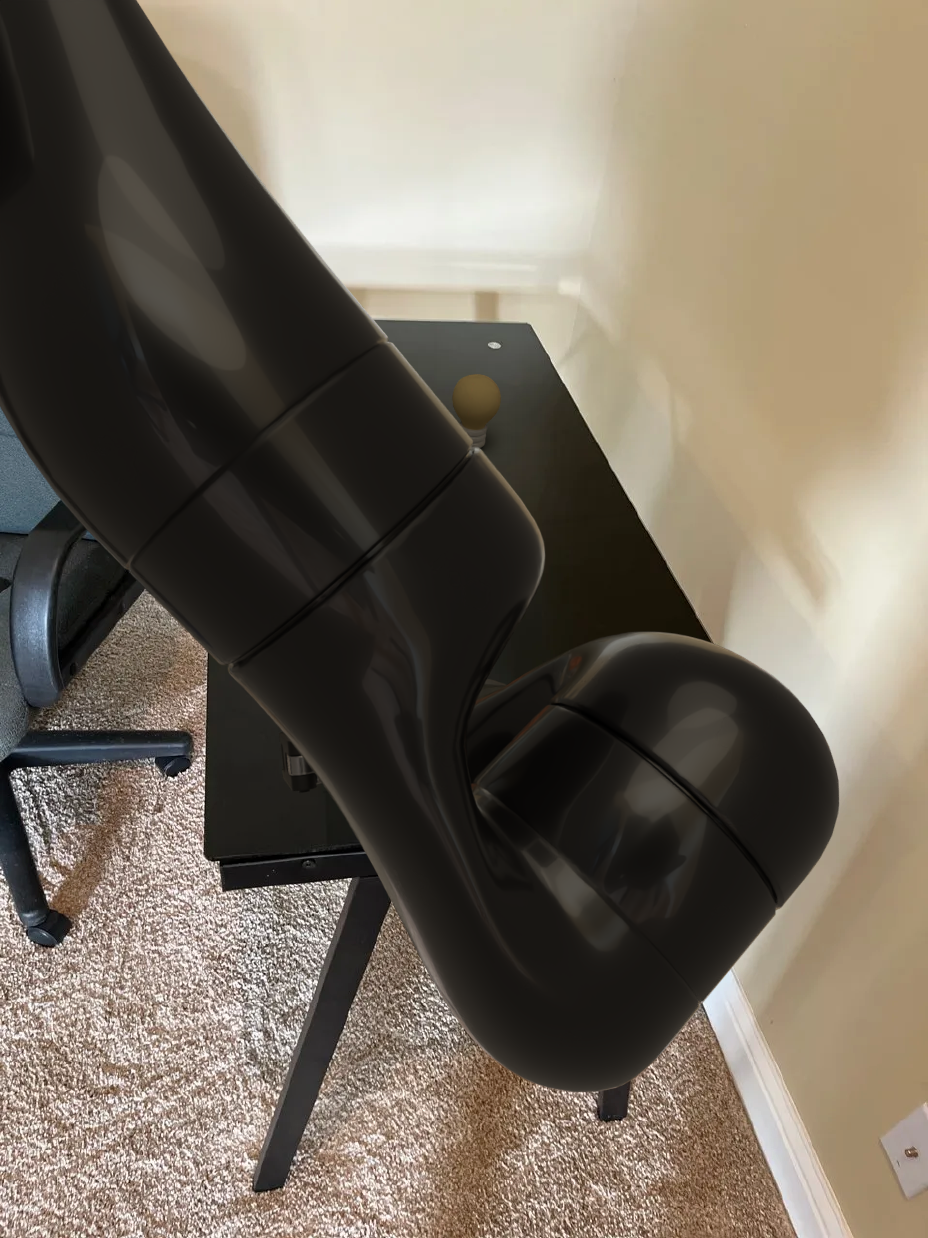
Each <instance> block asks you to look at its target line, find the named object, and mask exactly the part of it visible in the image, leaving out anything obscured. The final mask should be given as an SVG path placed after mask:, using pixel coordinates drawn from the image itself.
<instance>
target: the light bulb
mask: <svg viewBox="0 0 928 1238" xmlns="http://www.w3.org/2000/svg"><path fill="white" fill-rule="evenodd" d="M501 395H502V394H501V391H500V388H499V386H498V384H497V383H496V381H494V380H493V378H491V377H489V376H487V375H485V374H480V373H474V374H468V375H466V376H463V377H461V378H460V379H459V380H458V381H457V382H456V384H455V386H454V388H453V391H452V397H451V398H452V399H451V400H452V406H453V409H454V412H455V413H456V415H457V417H458V418H459V419H460V422H459V424H460V425H461V426H462V427H463V428H464V430H465V431H466V432H467V433H468V434H469V436H470V437H471V438H472V439H473V446H472V448H473V447H479V448H480V449H481V448H482V447H484V446H485V444H486V437H487V430H488V425H487V424H488V423H489V422H490V421H491V420H492V419H493V418H494V417H495V416H496V415H497V413H498V412H499V410H500V407H501V403H502V396H501Z"/></svg>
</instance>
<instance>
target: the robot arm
mask: <svg viewBox="0 0 928 1238" xmlns="http://www.w3.org/2000/svg"><path fill="white" fill-rule="evenodd" d="M0 409H1V411H2V413H3V415H4V417H5V418H6V420H7V422H8V423H9V425H10V427H11V429H12V430H13V432H14V434H15V435H16V437H17V439H18V441H19V442H20V444H21V446H22V448H23V449H24V451H25V452H26V454H27V456H28V457H29V459H30V460H31V461H32V464H34V466H35V468H37V470H38V471H39V473H40V474H41V475H42V477H43V478H44V479H45V481H46V482H47V484H48V486H49V487H50V488H51V489H52V491H53V492H54V494H55V495H56V496H57V497H58V499H59V500H60V501H61V502H62V503H63V504H64V505H65V507H66V508H67V509H68V510H69V511H70V512H71V514H72V515H73V516H74V517H75V518H76V519H77V521H78V522H79V523H80V524H81V525H82V526H83V527H84V529H86V531H87V532H88V533H89V534H90V535H91V536H92V537H93V538H94V539H95V540H96V541H97V542H98V543H99V544H100V545H101V546H102V548H104V549H105V550H106V551H107V552H108V553H109V554H110V555H111V556H112V558H114V559H115V560H116V561H117V562H118V563H119V565H121V566H122V568H124V569H125V570H128V571H129V574H130V575H131V576H132V578H133V579H134V580H136V581H137V582H138V584H139V585H141V586H142V587H143V588H144V589H145V591H147V592H148V594H149V595H151V597H153V598H154V599H155V601H156V602H158V604H159V605H160V606H161V607H162V608H164V610H165V611H166V612H167V613H168V614H169V615H170V616H171V617H172V618H173V619H174V620H175V621H176V622H177V623H178V624H179V625H180V626H181V627H182V628H183V629H184V630H185V631H186V632H187V633H188V634H189V635H190V636H191V637H192V638H193V639H194V640H195V641H196V642H197V643H198V644H199V645H200V646H201V647H202V648H203V649H204V650H205V651H206V652H207V653H208V654H209V655H210V656H211V657H212V658H213V659H214V660H215V661H216V662H217V663H218V664H219V665H220V666H227V673H228V674H229V675H230V676H231V677H232V678H233V679H234V680H235V681H236V682H237V683H238V684H239V686H240V687H242V688H243V689H244V690H245V692H246V693H247V694H249V696H251V697H252V699H253V701H255V702H256V704H257V705H258V706H259V707H260V708H261V709H262V710H263V711H264V712H265V714H266V715H267V716H268V717H269V718H270V719H271V720H272V721H273V723H274V724H275V725H276V726H277V727H278V728H279V730H280V731H281V732H278V740H279V743H280V753H281V763H282V769H281V772H282V779H283V780H284V782H285V783H286V784H287V786H288V787H289V788H290V790H291V791H292V792H299V793H300V794H301V793H302V794H303V793H309V792H310V790H313V789H316V788H317V785H320V784H322V785H323V787H324V788H325V790H326V791H327V793H328V794H329V796H330V797H331V799H332V800H333V802H334V803H335V805H336V806H337V807H338V809H339V811H340V812H341V814H342V815H343V817H344V818H345V820H346V822H347V823H348V826H349V827H350V829H351V830H352V832H353V834H354V836H355V837H356V839H357V841H358V842H359V844H360V846H361V848H362V849H363V851H364V853H365V855H366V856H367V858H368V860H369V861H370V863H371V865H372V867H373V868H374V870H375V872H376V874H377V875H378V878H379V880H380V882H381V884H382V886H383V888H384V890H385V891H386V894H387V896H388V898H389V900H390V901H391V904H392V906H393V907H394V910H395V912H396V914H397V915H398V918H399V919H400V921H401V924H402V925H403V928H404V930H405V931H406V933H407V935H408V938H409V939H410V941H411V943H412V945H413V946H414V949H415V950H416V953H417V954H418V956H419V958H420V960H421V962H422V964H423V966H424V968H425V970H426V972H427V973H428V975H429V977H430V979H431V980H432V982H433V985H434V986H435V987H436V989H437V991H438V993H439V994H440V996H441V998H442V999H443V1001H444V1002H445V1004H446V1006H447V1007H448V1009H449V1010H450V1011H451V1013H452V1015H453V1016H454V1018H455V1019H456V1020H457V1022H458V1023H459V1024H460V1025H461V1027H462V1028H463V1029H464V1031H465V1032H466V1033H467V1034H468V1035H469V1037H470V1038H471V1039H472V1040H473V1042H475V1044H477V1046H479V1047H480V1048H481V1049H482V1050H483V1051H484V1052H485V1054H486V1055H488V1056H489V1057H490V1058H491V1059H493V1060H494V1061H495V1062H496V1063H497V1064H499V1065H500V1066H502V1067H503V1068H504V1069H506V1070H508V1071H509V1072H511V1073H513V1074H514V1075H516V1076H517V1077H520V1078H521V1079H523V1080H525V1081H527V1082H530V1083H531V1084H532V1083H533V1084H535V1085H537V1086H540V1087H544V1088H547V1089H553V1090H558V1091H563V1092H569V1093H598V1092H604V1091H607V1090H612V1089H616V1088H619V1087H621V1086H623V1085H625V1084H627V1083H629V1082H631V1081H633V1080H634V1079H636V1078H637V1077H638V1076H640V1075H641V1074H642V1073H643V1072H644V1071H645V1070H647V1069H648V1068H649V1067H650V1066H651V1065H653V1064H654V1063H655V1062H656V1061H657V1060H658V1058H659V1057H660V1056H661V1055H662V1053H664V1051H665V1050H666V1049H667V1048H668V1047H669V1046H670V1045H671V1043H673V1041H674V1040H675V1039H676V1038H677V1037H678V1035H679V1034H680V1032H681V1031H682V1030H683V1029H684V1028H685V1026H686V1025H687V1024H688V1023H689V1021H691V1019H692V1018H693V1016H695V1014H696V1013H697V1012H698V1010H699V1009H700V1007H701V1005H703V1004H704V1003H705V1002H706V1000H707V999H708V998H709V997H710V995H711V994H712V993H713V992H714V990H715V989H716V988H717V986H718V985H719V984H720V983H721V982H722V980H724V978H725V977H726V975H728V973H729V972H730V971H731V970H732V968H733V967H734V966H735V965H736V964H737V962H738V961H739V960H740V958H741V957H743V955H744V954H745V953H746V951H747V950H748V949H749V948H750V946H752V944H753V943H754V941H755V940H756V939H757V938H758V937H759V935H761V933H762V932H763V931H764V929H765V928H766V927H767V926H768V925H769V923H770V922H771V921H772V920H773V919H774V918H775V916H776V911H778V910H780V909H782V908H783V906H784V905H785V904H786V903H787V901H788V900H789V899H790V898H791V897H792V896H793V894H794V893H795V892H796V891H797V889H798V888H799V887H800V886H801V885H802V883H804V881H805V880H806V879H807V877H808V876H809V875H810V874H811V872H812V871H813V869H814V868H815V867H816V866H817V864H818V863H819V862H820V860H821V858H822V856H823V854H824V852H825V850H826V848H827V846H828V845H829V843H830V841H831V839H832V837H833V834H834V831H835V826H836V823H837V820H838V816H839V811H840V781H839V775H838V770H837V766H836V763H835V760H834V757H833V754H832V750H831V748H830V745H829V743H828V741H827V738H826V737H825V734H824V733H823V731H822V730H821V728H820V727H819V725H818V723H817V722H816V720H815V718H814V717H813V715H812V714H811V713H810V711H809V710H808V709H807V707H805V705H804V704H803V703H802V702H801V701H800V700H799V698H798V697H797V696H796V695H795V694H794V693H793V692H792V691H791V689H790V688H788V687H787V686H786V685H785V684H784V683H783V682H781V680H779V679H778V678H777V677H776V676H774V675H773V674H771V673H770V672H768V671H767V670H766V669H764V668H763V667H760V666H759V665H758V664H756V663H754V662H752V661H751V660H749V659H748V658H747V657H744V656H742V655H741V654H739V653H737V652H735V651H732V650H730V649H728V648H726V647H724V646H721V645H718V644H717V643H713V642H710V641H707V640H704V639H701V638H696V637H692V636H689V635H685V634H680V633H679V634H678V633H671V632H663V631H627V632H621V633H616V634H612V635H606V636H602V637H599V638H595V639H592V640H590V641H588V642H585V643H582V644H580V645H578V646H576V647H572V648H571V649H569V650H567V651H565V652H563V653H561V654H559V655H557V656H555V657H553V658H551V659H549V660H547V661H546V662H543V663H542V664H539V665H538V666H535V667H534V668H532V669H530V670H528V671H526V672H523V674H521V675H520V676H518V677H516V678H514V679H513V680H512V681H510V682H508V683H507V684H506V683H504V682H502V681H501V682H500V681H497V680H495V679H491V678H489V676H490V674H491V672H492V671H493V669H494V667H495V665H496V664H497V662H498V660H499V658H500V657H501V655H502V653H503V652H504V650H505V648H506V647H507V645H508V643H509V642H510V640H511V639H512V637H513V634H514V633H515V631H516V630H517V628H518V626H519V625H520V624H521V622H522V621H523V619H524V617H525V616H526V614H527V612H528V610H529V608H530V606H531V604H532V602H533V600H534V598H535V597H536V594H537V592H538V589H539V588H540V584H541V581H542V579H543V574H544V571H545V567H546V546H545V541H544V538H543V535H542V532H541V530H540V527H539V525H538V523H537V521H536V519H535V518H534V516H533V515H532V513H531V512H530V510H529V509H528V507H527V506H526V504H525V502H524V501H523V499H522V498H521V497H520V496H519V494H518V493H517V492H516V490H515V489H514V488H513V486H512V485H511V484H510V483H509V481H508V480H507V479H506V478H505V476H503V473H501V471H500V470H499V469H498V468H497V466H496V465H494V463H493V462H492V460H490V459H489V457H488V456H487V454H486V453H485V452H484V451H483V449H481V448H479V447H473V448H472V446H473V439H472V438H471V437H470V436H469V434H468V433H467V432H466V431H465V430H464V428H463V427H462V426H461V425H460V422H459V421H458V420H457V418H456V417H455V416H454V415H453V413H452V412H450V410H449V409H448V408H447V406H446V405H445V403H443V401H442V400H441V399H440V398H439V397H438V396H437V394H436V393H435V392H434V391H433V390H432V388H431V387H430V386H429V385H428V383H427V382H426V381H425V380H424V378H422V376H421V375H420V374H419V372H417V370H416V369H415V368H414V366H412V364H411V363H410V362H409V361H408V360H407V358H406V357H405V356H404V355H403V353H402V352H401V351H400V350H399V349H398V347H397V345H395V344H394V342H391V341H390V339H389V337H388V334H386V333H385V332H384V331H383V329H382V328H381V326H379V325H378V323H377V322H376V321H375V319H374V318H372V316H371V315H370V314H369V312H368V311H367V310H366V308H364V307H363V305H362V304H361V303H360V302H359V301H358V299H357V298H356V297H355V295H353V293H352V292H351V291H350V289H348V287H347V286H346V285H345V284H344V283H343V282H342V280H341V279H340V278H339V276H337V275H336V273H335V272H334V271H333V270H332V268H331V267H330V266H329V264H328V263H327V262H326V261H325V259H323V257H322V255H320V253H319V252H318V251H317V250H316V249H315V247H314V245H312V243H311V241H309V239H307V237H306V236H305V235H304V233H303V232H302V231H301V229H300V228H299V227H298V225H297V224H296V223H295V222H294V220H293V219H292V218H291V216H289V214H288V213H287V212H286V210H285V208H283V207H282V205H281V203H279V202H278V200H277V198H275V196H274V195H273V194H272V192H271V191H270V190H269V189H268V187H267V186H266V184H265V183H264V182H263V181H262V179H261V178H260V176H259V175H258V174H257V172H256V171H255V170H254V168H253V166H251V165H250V163H249V162H248V160H247V159H246V157H245V156H244V155H243V154H242V152H241V151H240V150H239V148H238V146H236V144H235V143H234V141H233V140H232V138H230V136H229V135H228V133H227V132H226V131H225V129H224V128H223V126H222V125H221V123H220V122H219V121H218V120H217V118H216V117H215V115H214V114H213V112H212V111H211V109H210V108H209V106H208V105H207V104H206V103H205V101H204V100H203V98H202V97H201V95H200V94H199V93H198V91H197V90H196V88H195V87H194V86H193V84H192V82H191V81H190V80H189V79H188V76H187V75H186V74H185V73H184V71H183V70H182V68H181V67H180V65H179V63H178V62H177V61H176V60H175V58H174V56H173V55H172V53H171V51H170V50H169V48H168V47H167V45H166V44H165V42H164V40H163V39H162V38H161V35H160V34H159V33H158V32H157V30H156V28H155V27H154V25H153V24H152V22H151V21H150V19H149V17H148V15H147V14H146V13H145V11H144V9H143V8H142V6H141V5H140V3H139V2H138V0H0ZM700 1004H701V1005H700Z"/></svg>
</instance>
